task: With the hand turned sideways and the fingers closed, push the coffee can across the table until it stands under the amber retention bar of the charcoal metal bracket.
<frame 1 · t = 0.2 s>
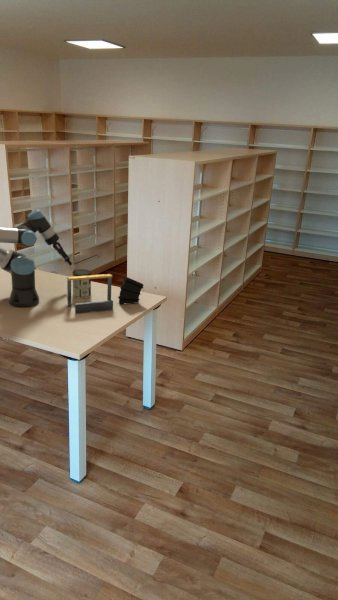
hand: (71, 265, 250), 15 cm above the table, tool tilted 35°, fingers open, 13 cm apart
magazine: (130, 303, 244), on the table
retention bracket: (86, 301, 241), on the table
coffee can: (81, 295, 249), on the table
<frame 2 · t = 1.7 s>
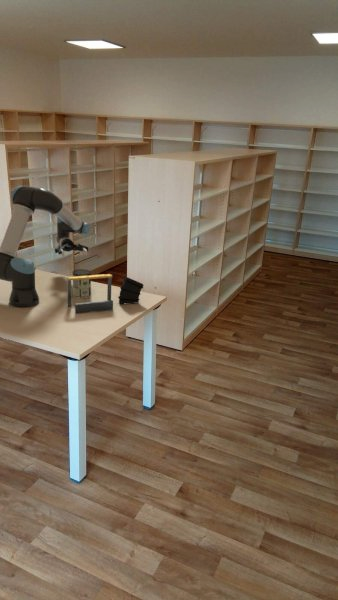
hand: (75, 253, 254), 21 cm above the table, tool horizontal, fingers open, 13 cm apart
nothing on the table moved.
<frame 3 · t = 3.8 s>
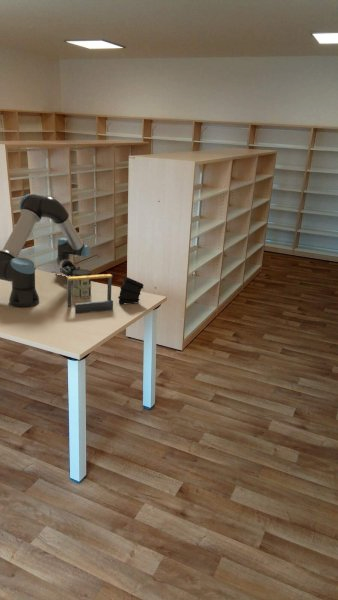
hand: (76, 277, 256), 7 cm above the table, tool horizontal, fingers closed
nothing on the table moved.
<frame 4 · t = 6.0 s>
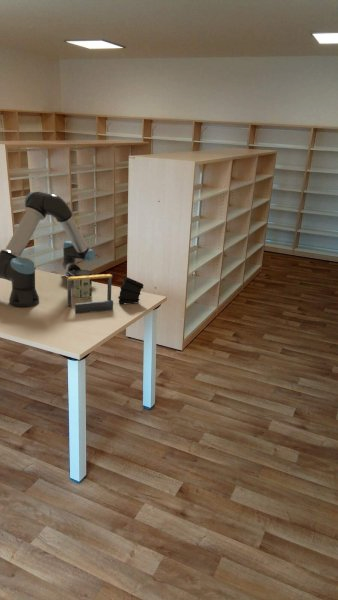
hand: (83, 281, 251), 7 cm above the table, tool horizontal, fingers closed
coffee can: (82, 296, 248), on the table, touching gripper
everything else where it was.
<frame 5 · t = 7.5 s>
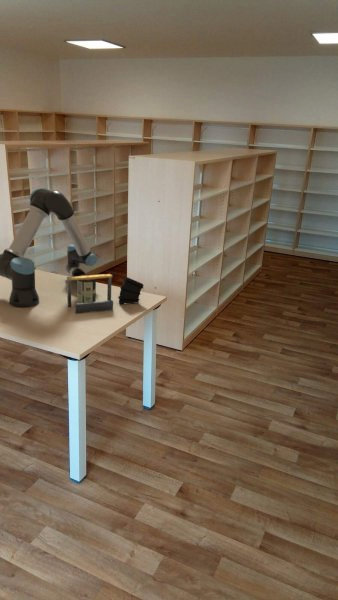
hand: (89, 286, 243), 7 cm above the table, tool horizontal, fingers closed
coffee can: (86, 301, 240), on the table, touching gripper
everything else where it was.
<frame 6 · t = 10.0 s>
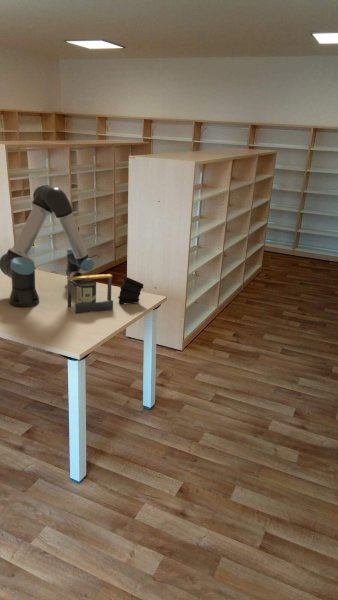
hand: (89, 291, 235), 7 cm above the table, tool horizontal, fingers closed
coffee can: (86, 307, 232), on the table, touching gripper, retention bracket
everything else where it was.
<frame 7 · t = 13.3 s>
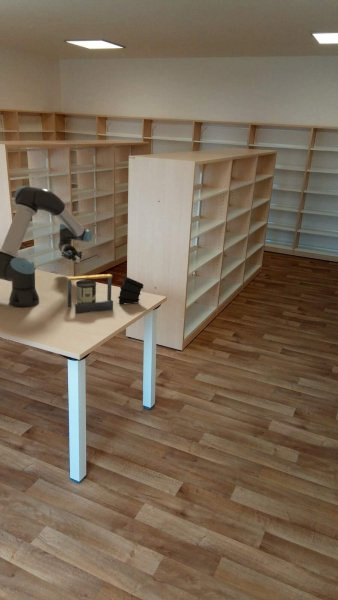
hand: (78, 260, 251), 18 cm above the table, tool horizontal, fingers closed
coffee can: (85, 308, 232), on the table
everything else where it was.
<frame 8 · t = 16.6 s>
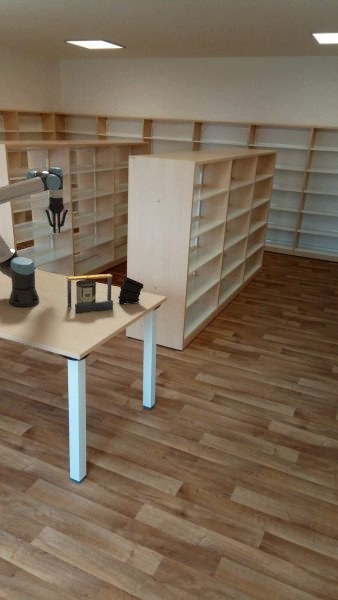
hand: (56, 238, 248), 29 cm above the table, tool pointing down, fingers closed
nothing on the table moved.
at the end: coffee can inside the target area on the retention bracket (3.3 cm from its centre), point 0.0 cm above the retention bracket's base; coffee can tilted 0°; the gripper is holding nothing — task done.
